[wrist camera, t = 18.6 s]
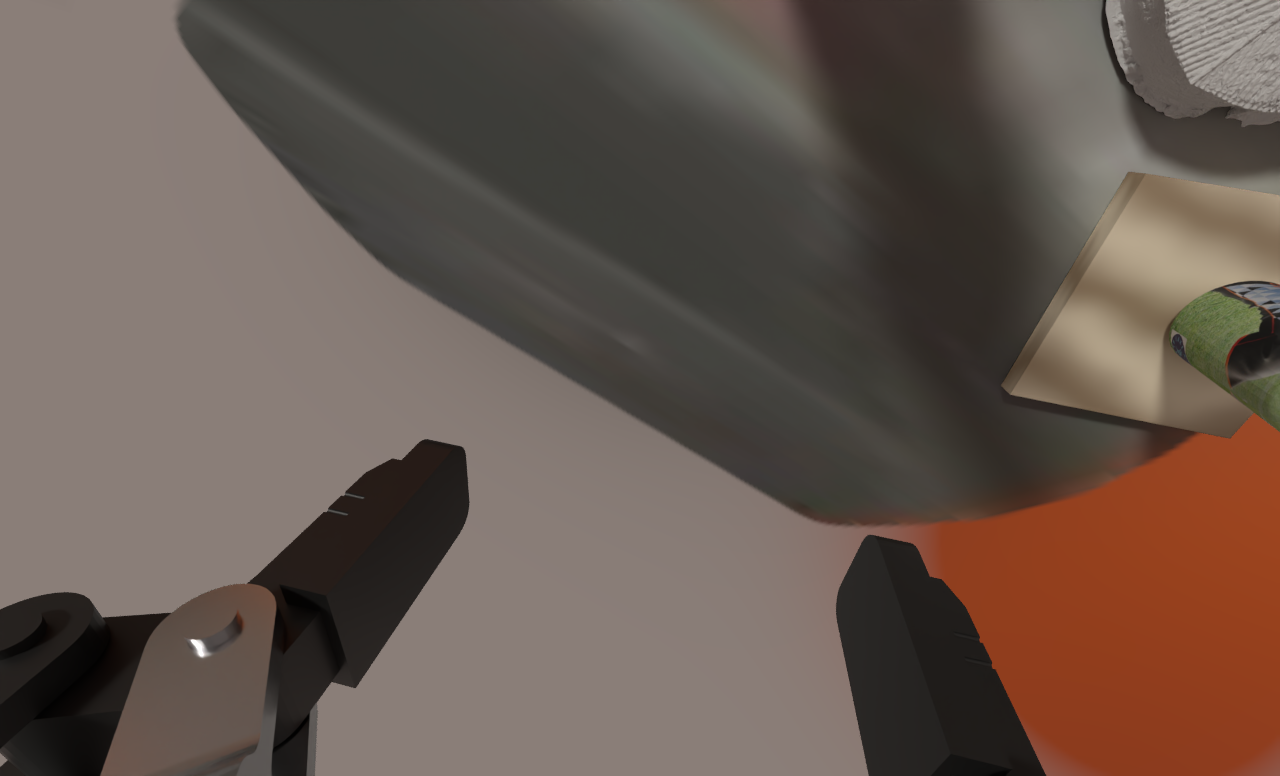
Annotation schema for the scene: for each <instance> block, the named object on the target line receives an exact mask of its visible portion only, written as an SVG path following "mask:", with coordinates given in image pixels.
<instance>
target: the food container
mask: <svg viewBox="0 0 1280 776" xmlns="http://www.w3.org/2000/svg"><path fill="white" fill-rule="evenodd" d="M1106 1H1107V2H1106V14H1107V15H1106V16H1107V20H1108V23H1109V24H1108V25H1109V29H1110V35H1111V36H1110V38H1112V41H1113V47H1114V48H1115V53H1116V55H1117V60H1118V61H1119V63H1120V66H1121V67H1122V69H1123V70H1124V72H1125V75H1126V79H1127V81H1128V82H1129V83H1130V84H1132V85H1133V86H1134V90H1135V93H1136V94H1137V95H1139V96H1141V97H1142V98H1144V102H1145V103H1148V104H1149V105H1150V106H1153V107H1155V109H1156V111H1158V112H1159V111H1160V112H1164V114H1165V116H1169V117H1172V118H1173V119H1179V118H1182V117H1191V118H1193V117H1198V116H1200V115H1203V114H1205V113H1207V112H1208V111H1209V110H1212V109H1213V108H1214V107H1226V106H1231V107H1230V108H1232V109H1231V110H1230V111H1228V112H1227V116H1225V117H1226V119H1228V118H1233V119H1234V118H1235V119H1237V120H1241V121H1242V123H1241V127H1246V126H1247V125H1267V124H1272V123H1274V122H1277V121H1280V0H1106Z"/></svg>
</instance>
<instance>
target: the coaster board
mask: <svg viewBox="0 0 1280 776" xmlns="http://www.w3.org/2000/svg"><path fill="white" fill-rule="evenodd" d="M1244 281H1266V282H1273V283H1276V284H1279V285H1280V195H1274V194H1268V193H1262V192H1255V191H1249V190H1243V189H1237V188H1231V187H1225V186H1218V185H1212V184H1206V183H1200V182H1194V181H1187V180H1181V179H1175V178H1169V177H1163V176H1156V175H1150V174H1143V173H1134V172H1128V174H1127V175H1126V177H1125V179H1124V180H1123V182H1122V184H1121V185H1120V187H1119V189H1118V191H1117V192H1116V194H1115V196H1114V197H1113V199H1112V201H1111V202H1110V204H1109V206H1108V207H1107V209H1106V211H1105V212H1104V214H1103V216H1102V217H1101V219H1100V221H1099V222H1098V224H1097V226H1096V227H1095V229H1094V231H1093V232H1092V234H1091V236H1090V237H1089V239H1088V241H1087V242H1086V244H1085V246H1084V247H1083V249H1082V251H1081V252H1080V254H1079V256H1078V258H1077V259H1076V261H1075V263H1074V264H1073V266H1072V268H1071V269H1070V271H1069V273H1068V274H1067V276H1066V278H1065V279H1064V281H1063V283H1062V284H1061V286H1060V288H1059V289H1058V291H1057V293H1056V294H1055V296H1054V298H1053V299H1052V301H1051V303H1050V304H1049V306H1048V308H1047V309H1046V311H1045V313H1044V314H1043V316H1042V318H1041V319H1040V321H1039V323H1038V325H1037V326H1036V328H1035V330H1034V331H1033V333H1032V335H1031V336H1030V338H1029V340H1028V341H1027V343H1026V345H1025V346H1024V348H1023V350H1022V351H1021V353H1020V355H1019V356H1018V358H1017V360H1016V361H1015V363H1014V365H1013V366H1012V368H1011V370H1010V371H1009V373H1008V375H1007V376H1006V378H1005V380H1004V381H1003V383H1002V385H1001V386H1002V387H1003V388H1004V389H1005V390H1006V391H1007V392H1008V393H1009V394H1010V395H1015V396H1020V397H1025V398H1030V399H1035V400H1040V401H1045V402H1050V403H1055V404H1060V405H1065V406H1070V407H1075V408H1080V409H1085V410H1090V411H1095V412H1100V413H1105V414H1110V415H1115V416H1120V417H1125V418H1130V419H1135V420H1140V421H1145V422H1150V423H1155V424H1160V425H1165V426H1170V427H1175V428H1180V429H1185V430H1190V431H1195V432H1200V433H1205V434H1210V435H1215V436H1220V437H1225V438H1231V437H1232V436H1233V435H1234V433H1235V432H1236V431H1237V430H1238V429H1239V428H1240V427H1241V426H1242V425H1243V424H1244V423H1245V422H1246V420H1248V418H1249V417H1250V416H1251V415H1252V414H1253V413H1254V412H1253V411H1251V410H1250V409H1249V408H1247V407H1246V406H1245V405H1243V404H1242V403H1241V402H1239V401H1238V400H1237V399H1235V398H1234V397H1233V396H1231V395H1230V394H1229V393H1227V392H1226V391H1225V390H1223V389H1222V388H1221V387H1219V386H1218V385H1217V384H1215V383H1214V382H1213V381H1211V380H1210V379H1209V378H1207V377H1206V376H1205V375H1203V374H1202V373H1201V372H1199V371H1198V370H1197V369H1195V368H1194V367H1193V366H1191V365H1190V364H1189V363H1187V362H1186V361H1185V360H1183V359H1182V358H1181V357H1179V356H1178V355H1177V354H1176V353H1175V352H1174V350H1173V349H1172V347H1171V345H1170V342H1169V332H1170V328H1171V325H1172V323H1173V321H1174V319H1175V318H1176V317H1177V315H1178V314H1179V312H1180V311H1181V310H1182V309H1183V308H1184V307H1185V306H1187V305H1188V304H1189V303H1190V302H1192V301H1193V300H1194V299H1196V298H1198V297H1199V296H1201V295H1203V294H1204V293H1207V292H1209V291H1211V290H1213V289H1215V288H1218V287H1221V286H1224V285H1228V284H1232V283H1237V282H1244Z"/></svg>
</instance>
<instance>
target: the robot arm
mask: <svg viewBox="0 0 1280 776" xmlns="http://www.w3.org/2000/svg"><path fill="white" fill-rule="evenodd" d="M468 510H469V492H468V477H467V464H466V454H465V450H464V449H463V447H461V446H456V445H451V444H447V443H442V442H438V441H433V440H428V439H425V440H422V441H421V442H419V443H418V444H417V445H416V446H415V447H414V448H413V449H412V450H411V451H410V452H409V453H408V454H407V455H406V456H405V457H404V458H403V459H402V460H397V459H391V460H389V461H387V462H385V463H383V464H381V465H379V466H377V467H376V468H374V469H372V470H370V471H368V472H366V473H365V474H364V475H363V476H362V477H361V478H359V479H358V481H357V482H355V483H354V484H353V485H352V486H351V487H350V488H349V489H348V490H347V491H346V492H345V495H344V496H340V497H339V498H338V499H337V500H336V501H335V502H334V503H333V504H332V505H331V506H330V507H329V508H328V511H327V512H323V513H322V514H321V515H320V516H319V517H318V518H317V519H316V520H315V521H314V522H313V523H312V524H311V525H310V526H309V527H308V528H306V530H304V531H303V532H302V533H301V534H300V535H299V536H298V537H297V538H296V539H295V540H294V541H293V542H292V543H291V544H289V546H288V547H286V548H285V549H284V550H283V551H282V552H281V553H280V554H279V555H278V556H277V557H276V558H275V559H274V560H273V561H271V562H270V563H269V564H268V565H267V566H266V567H265V568H264V569H263V570H262V571H261V572H260V573H259V574H258V575H257V576H256V577H254V578H253V579H252V580H251V581H250V582H248V583H247V584H233V585H228V586H223V587H220V588H217V589H214V590H211V591H208V592H206V593H203V594H201V595H199V596H198V597H195V598H193V599H191V600H190V601H188V602H186V603H185V604H183V605H181V606H180V607H179V608H177V609H176V610H175V611H174V612H172V613H161V614H147V615H133V616H119V617H105V618H102V616H101V615H100V613H99V612H98V611H97V609H96V608H95V606H94V605H93V604H92V602H91V601H90V599H88V598H87V597H85V596H84V595H81V594H77V593H69V592H64V593H52V594H46V595H41V596H37V597H33V598H29V599H26V600H23V601H20V602H17V603H15V604H12V605H10V606H7V607H5V608H3V609H1V610H0V753H1V754H2V755H3V756H4V757H5V758H6V759H7V760H8V761H7V762H5V763H4V764H3V765H2V766H1V767H0V776H315V761H316V738H317V737H316V736H317V714H318V710H317V701H318V700H319V699H320V697H321V696H322V694H323V693H324V692H325V690H326V688H327V687H328V686H329V685H330V683H331V682H334V683H338V684H342V685H345V686H349V687H353V688H356V687H357V685H358V684H359V682H360V681H361V679H362V678H363V676H364V675H365V673H366V672H367V670H368V669H369V667H370V666H371V664H372V663H373V661H374V660H375V658H376V657H377V656H378V654H379V653H380V651H381V649H382V648H383V647H384V645H385V644H386V642H387V641H388V639H389V638H390V636H391V635H392V633H393V632H394V630H395V629H396V627H397V626H398V624H399V623H400V621H401V620H402V618H403V617H404V615H405V614H406V612H407V611H408V609H409V608H410V606H411V605H412V604H413V602H414V601H415V599H416V598H417V596H418V595H419V593H420V592H421V590H422V589H423V587H424V586H425V584H426V583H427V581H428V580H429V578H430V577H431V575H432V574H433V572H434V571H435V569H436V568H437V566H438V565H439V563H440V562H441V560H442V559H443V557H444V556H445V554H446V553H447V552H448V550H449V549H450V547H451V546H452V544H453V543H454V541H455V540H456V538H457V536H458V535H459V534H460V532H461V530H462V528H463V526H464V524H465V521H466V518H467V515H468ZM836 615H837V623H838V628H839V632H840V638H841V642H842V647H843V652H844V657H845V661H846V667H847V671H848V676H849V681H850V686H851V691H852V696H853V701H854V706H855V710H856V715H857V720H858V725H859V730H860V735H861V740H862V745H863V749H864V754H865V759H866V764H867V769H868V774H869V776H1046V774H1045V772H1044V770H1043V768H1042V766H1041V764H1040V762H1039V760H1038V758H1037V756H1036V754H1035V751H1034V750H1033V747H1032V745H1031V743H1030V741H1029V739H1028V737H1027V735H1026V733H1025V731H1024V729H1023V726H1022V724H1021V722H1020V720H1019V718H1018V716H1017V714H1016V712H1015V709H1014V707H1013V705H1012V703H1011V701H1010V699H1009V697H1008V695H1007V693H1006V691H1005V689H1004V686H1003V684H1002V682H1001V680H1000V678H999V676H998V674H997V672H996V670H995V669H992V661H991V659H990V657H989V655H988V653H987V651H986V649H985V647H984V645H983V643H980V641H979V638H980V636H979V634H978V632H977V630H976V628H975V626H974V624H973V622H972V619H971V617H970V615H969V613H968V611H967V609H966V607H965V606H964V605H963V604H962V602H961V601H960V600H959V599H958V598H957V597H956V596H955V594H954V593H953V592H952V591H951V590H950V588H949V587H948V586H947V585H946V584H945V583H944V581H942V579H937V578H933V577H930V576H929V574H928V571H927V569H926V567H925V564H924V562H923V560H922V558H921V555H920V553H919V551H918V549H917V548H916V546H914V545H913V544H911V543H908V542H903V541H898V540H893V539H888V538H884V537H879V536H874V535H868V536H866V537H865V539H864V540H863V542H862V543H861V546H860V548H859V549H858V552H857V553H856V556H855V557H854V559H853V561H852V564H851V566H850V567H849V569H848V571H847V574H846V575H845V577H844V580H843V581H842V584H841V586H840V588H839V591H838V596H837V603H836Z"/></svg>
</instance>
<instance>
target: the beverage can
mask: <svg viewBox="0 0 1280 776" xmlns="http://www.w3.org/2000/svg"><path fill="white" fill-rule="evenodd" d="M1169 342H1170V345H1171V347H1172V349H1173V350H1174V352H1175V353H1176V354H1177V355H1178V356H1179V357H1181V358H1182V359H1183V360H1185V361H1186V362H1187V363H1189V364H1190V365H1191V366H1193V367H1194V368H1195V369H1197V370H1198V371H1199V372H1201V373H1202V374H1203V375H1205V376H1206V377H1207V378H1209V379H1210V380H1211V381H1213V382H1214V383H1215V384H1217V385H1218V386H1219V387H1221V388H1222V389H1223V390H1225V391H1226V392H1227V393H1229V394H1230V395H1231V396H1233V397H1234V398H1235V399H1237V400H1238V401H1239V402H1241V403H1242V404H1243V405H1245V406H1246V407H1247V408H1249V409H1250V410H1251V411H1253V412H1254V413H1256V414H1257V415H1258V416H1259V417H1261V418H1262V419H1264V420H1265V421H1266V422H1267V423H1269V424H1270V425H1271V426H1273V427H1274V428H1276V429H1277V430H1278V431H1279V432H1280V285H1279V284H1276V283H1273V282H1266V281H1244V282H1237V283H1232V284H1228V285H1224V286H1221V287H1218V288H1215V289H1213V290H1211V291H1209V292H1207V293H1204V294H1203V295H1201V296H1199V297H1198V298H1196V299H1194V300H1193V301H1192V302H1190V303H1189V304H1188V305H1187V306H1185V307H1184V308H1183V309H1182V310H1181V311H1180V312H1179V314H1178V315H1177V317H1176V318H1175V319H1174V321H1173V323H1172V325H1171V328H1170V332H1169Z"/></svg>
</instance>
